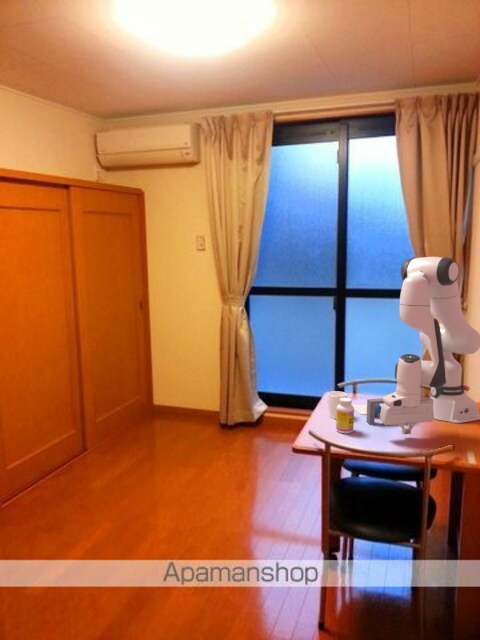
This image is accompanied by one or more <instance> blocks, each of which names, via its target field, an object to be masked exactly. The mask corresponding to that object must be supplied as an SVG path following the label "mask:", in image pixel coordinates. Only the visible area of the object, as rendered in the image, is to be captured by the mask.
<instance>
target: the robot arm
mask: <svg viewBox="0 0 480 640" xmlns="http://www.w3.org/2000/svg"><path fill="white" fill-rule="evenodd" d="M459 275H460V267H459V264H458V262H457V261H456V260H455V259H454V258H452V257H449V256H448V257H447V256H444V257H442V256H441V257H440V256H426V257H425V256H424V257H422V256H421V257H411V258H408V259H405V260H404V262H403V263H402V265H401V267H400V276H401V279H402V281H403V282H402V286H401V290H400V296H399V308H398V309H399V317H400V320H401V321H402V323H404V324H405V325H406V326H407V327H409V328H411V329H413V330H415V331H418V332H419V341H420V343H422V345H423V346H424V347H425V348H426V349H427V351H428V354H429V356H430V358H431V360H422V358H421V357H420V356H419V355H417V354H414V353H413V354H412V353H406V354H402V355H401V356H400V357H399V359H398V362H397V363H396V364H395V365H394V366H395V367H394V379H395V380H396V382H397V384H396V387H395V391H394V392H392V393H390V394H387V395H385V396H384V395H383V397H382V398H383V401H384V402H385V403H384V404H381V413H380V414H379V417H380V418H379V420H380V422H381V423H382V424H384V425H385V426H391V425H392V426H393V425H399V427H400V429H401V433H402V435H411V434H412V430H413V428H414V427H415V424H418V423H419V424H420V423H430V422H431V423H432V422H433V421H434V420H437V421H444V422H449V423H454V424H461V423H462V424H463V423H466V422H472V421H478V420H480V412H479V409H478V408H479V407H478V404H477V402H476V401H475V400H474V399H473V398H472V397H470V396H469V395H468V394H467V393H465V391H466V392H469V390H470V389H471V388H470V386H468V385H464V384H462V372H463V368H462V365H461V363H459V362H458V361H457V360H456V358H454V356H453V353H454V354H460V355H473V354H475V353H477V352H478V351H479V349H480V332H479V331H478V330H476V329H475V328H474V327H473V326H472V325H471V324H470V323H469V322H468V320H467V319H466V317H465V315H464V313H463V310H462V304H461V297H460V289H459V283H458V278H459ZM421 386H424V387H428V388H429V387H430V396H426V397H423V396H422V389H421ZM406 424H408V426H407V428H406Z"/></svg>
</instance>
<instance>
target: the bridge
mask: <svg viewBox="0 0 480 640" xmlns="http://www.w3.org/2000/svg"><path fill="white" fill-rule="evenodd" d="M384 403H385V402H384V401H383V397H382V398H379V397H378V398H368V399H367V400H366V404H367V414H366V423H367V424H368V425H375V417H376V416H375V404H380V405H383V404H384Z"/></svg>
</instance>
